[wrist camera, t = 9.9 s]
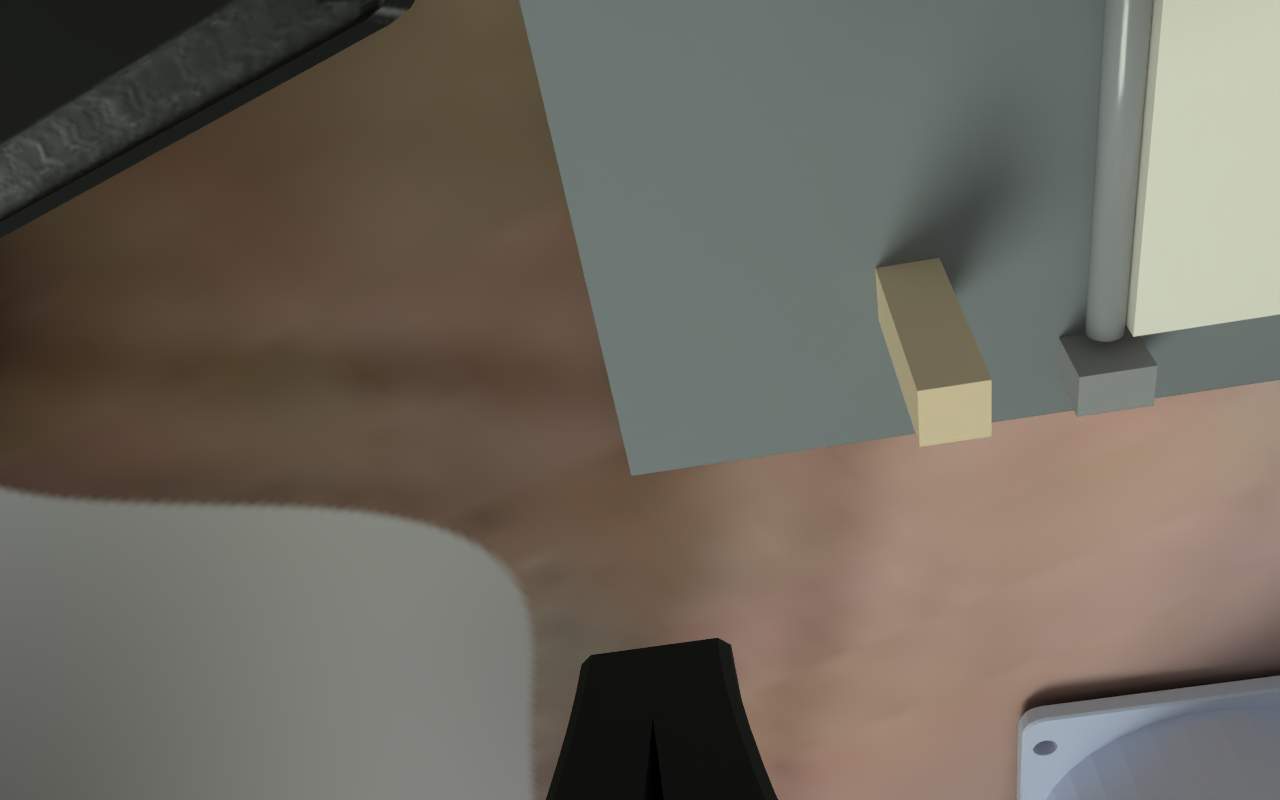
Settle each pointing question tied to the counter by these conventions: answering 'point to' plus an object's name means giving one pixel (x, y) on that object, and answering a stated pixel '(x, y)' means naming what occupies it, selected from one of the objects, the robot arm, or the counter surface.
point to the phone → (143, 79)
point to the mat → (845, 221)
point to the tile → (1185, 167)
